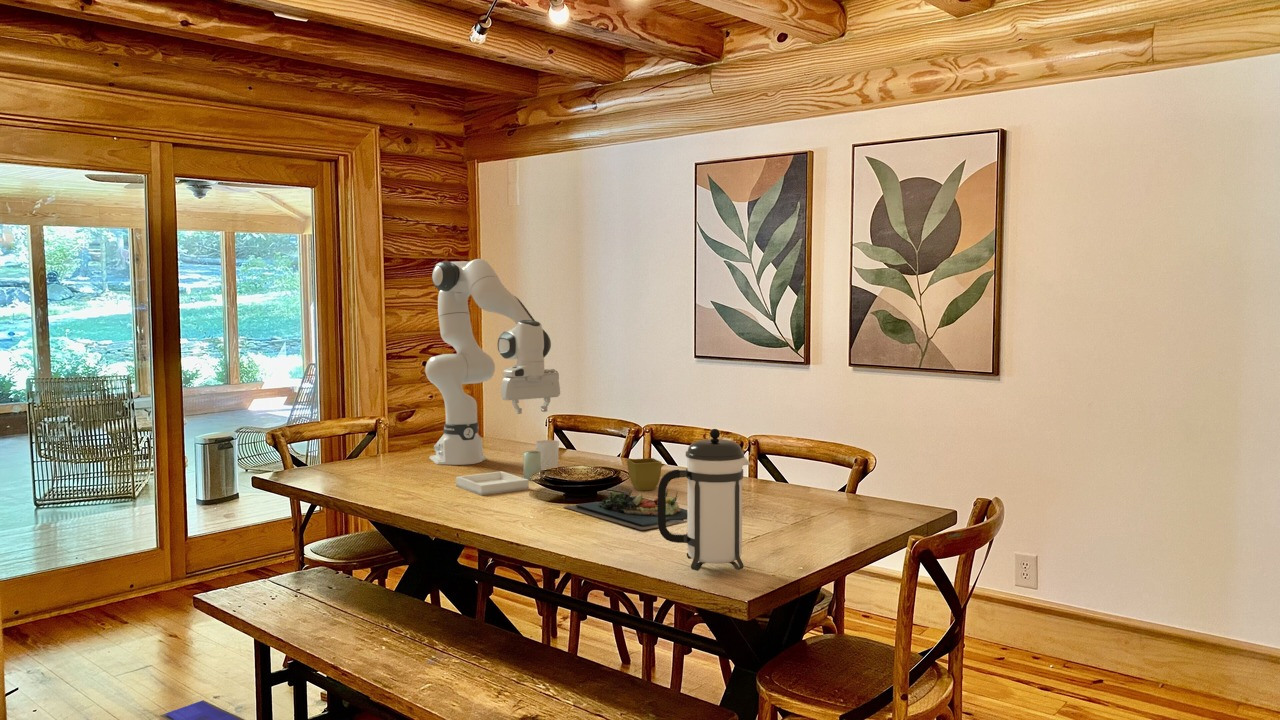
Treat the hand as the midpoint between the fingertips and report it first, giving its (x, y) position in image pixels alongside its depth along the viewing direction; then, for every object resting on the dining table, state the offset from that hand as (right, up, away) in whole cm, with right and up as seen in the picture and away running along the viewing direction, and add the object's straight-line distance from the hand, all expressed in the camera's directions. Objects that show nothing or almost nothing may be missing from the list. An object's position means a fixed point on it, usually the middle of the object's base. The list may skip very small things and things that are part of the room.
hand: (531, 412), depth 306 cm
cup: (0, -22, +1) cm, 22 cm away
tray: (-11, -23, -12) cm, 28 cm away
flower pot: (+37, -23, -16) cm, 46 cm away
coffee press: (+50, -28, -99) cm, 114 cm away
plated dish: (+35, -26, -44) cm, 62 cm away
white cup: (+3, -21, +17) cm, 28 cm away
